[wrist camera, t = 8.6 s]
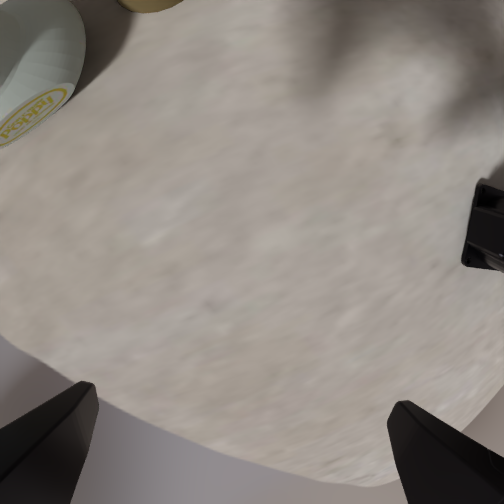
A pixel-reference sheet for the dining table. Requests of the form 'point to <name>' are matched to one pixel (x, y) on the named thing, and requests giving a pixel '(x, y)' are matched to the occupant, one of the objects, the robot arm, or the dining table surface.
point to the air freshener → (37, 62)
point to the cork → (148, 5)
